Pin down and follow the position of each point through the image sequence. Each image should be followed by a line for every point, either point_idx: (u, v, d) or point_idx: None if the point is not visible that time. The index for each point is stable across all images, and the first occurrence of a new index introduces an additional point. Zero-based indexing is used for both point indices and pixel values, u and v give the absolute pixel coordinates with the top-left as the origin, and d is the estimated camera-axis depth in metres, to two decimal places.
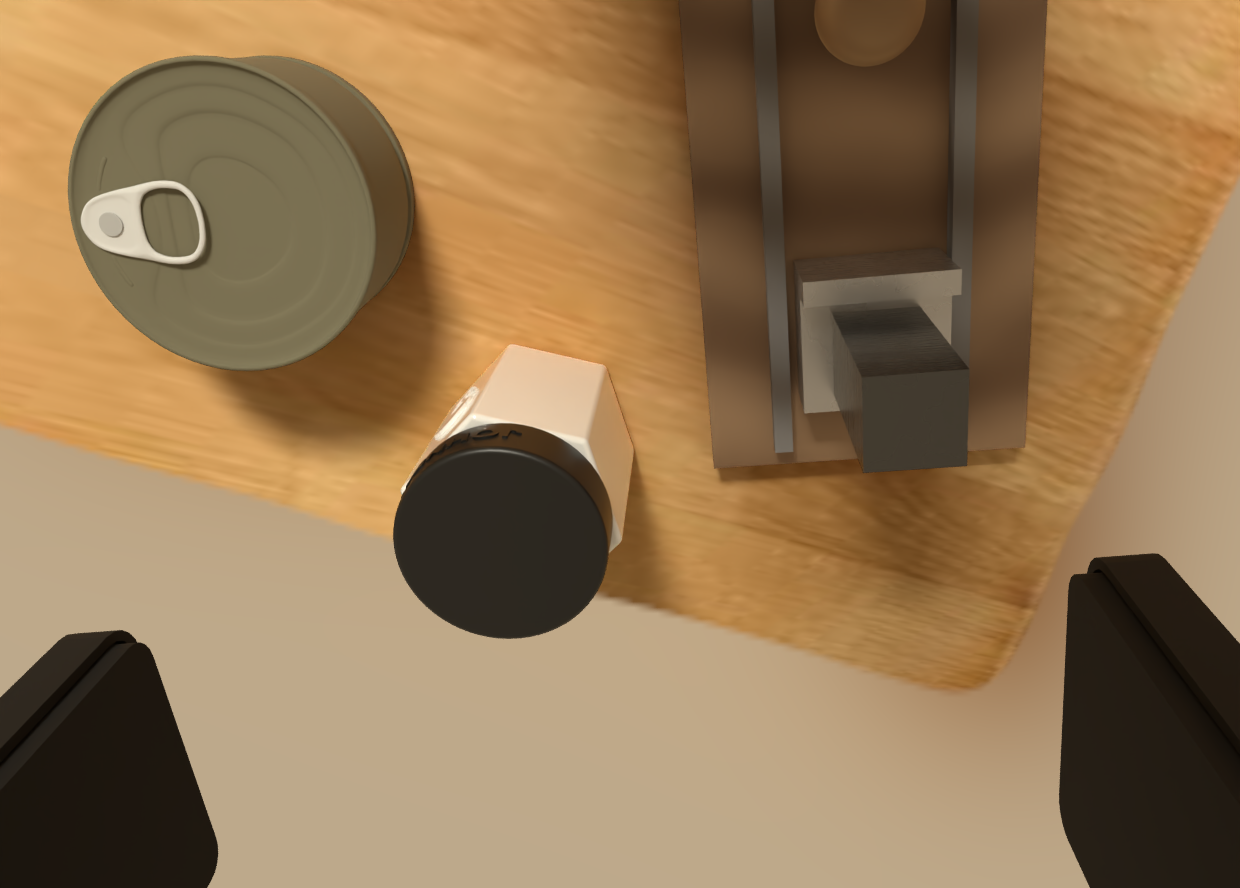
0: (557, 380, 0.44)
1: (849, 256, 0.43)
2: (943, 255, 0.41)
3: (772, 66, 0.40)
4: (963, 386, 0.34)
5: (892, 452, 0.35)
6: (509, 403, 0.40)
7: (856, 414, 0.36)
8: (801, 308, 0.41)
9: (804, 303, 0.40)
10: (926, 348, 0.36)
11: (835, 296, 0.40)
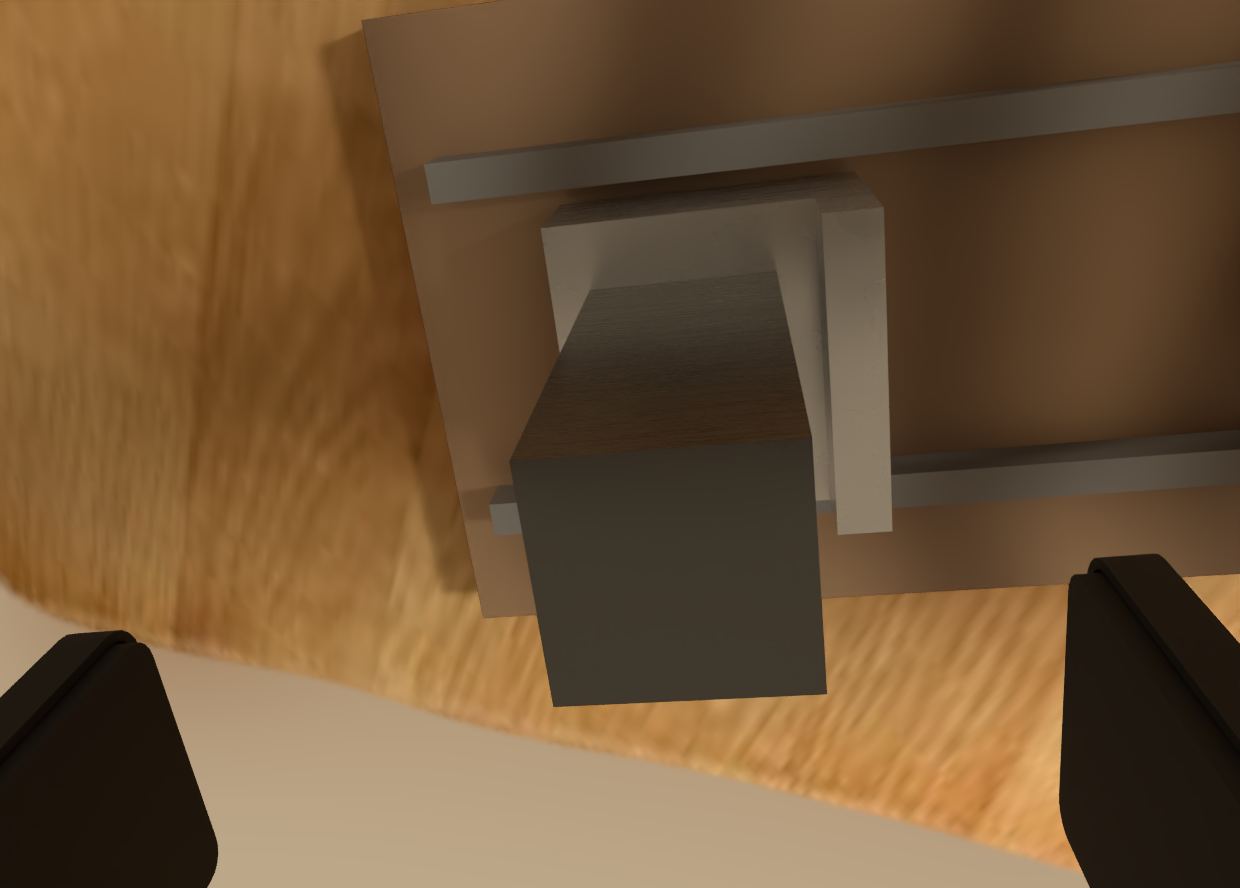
0: None
1: None
2: None
3: None
4: (778, 684, 0.13)
5: (579, 532, 0.12)
6: None
7: (655, 406, 0.13)
8: (789, 203, 0.18)
9: (832, 214, 0.17)
10: None
11: (846, 284, 0.17)
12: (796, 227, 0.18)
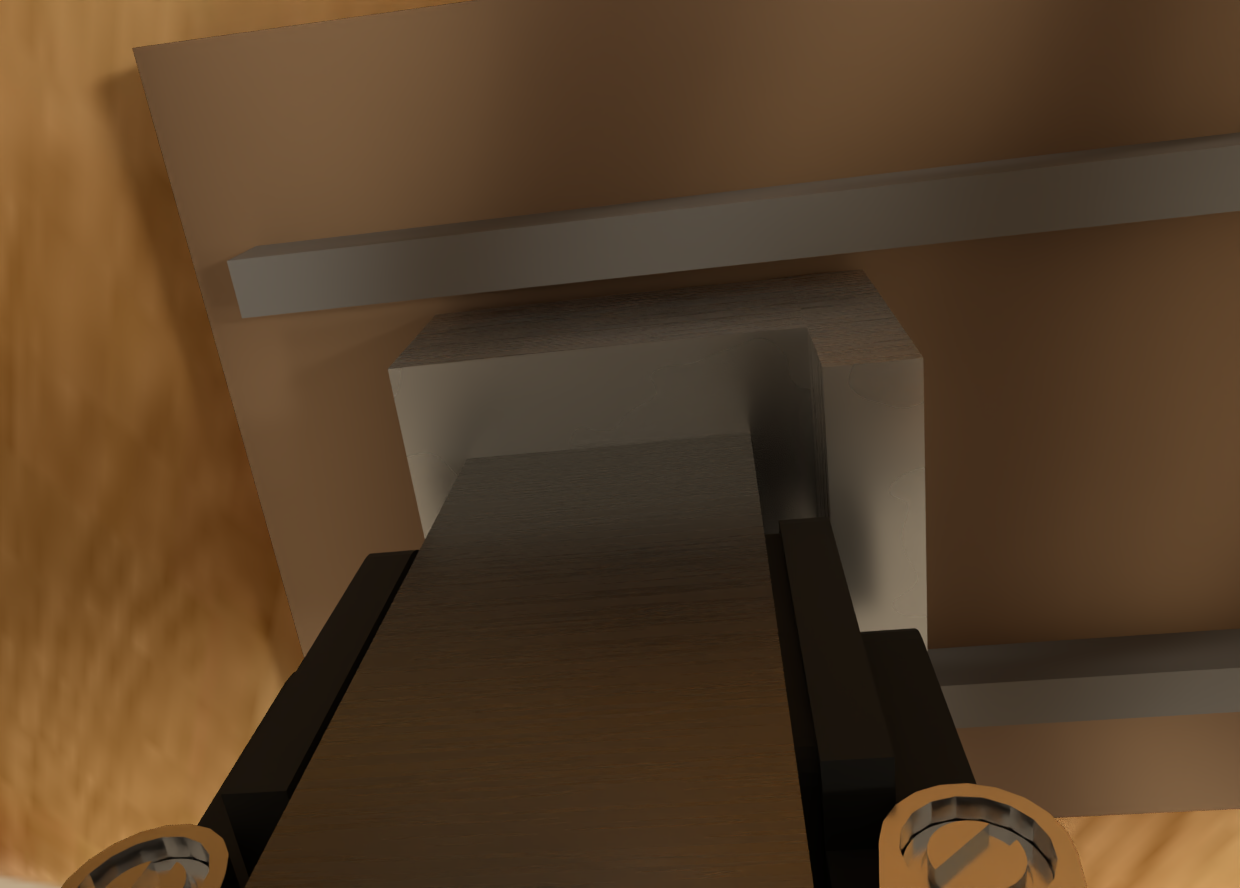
0: None
1: None
2: None
3: None
4: None
5: None
6: None
7: (506, 849, 0.06)
8: (769, 334, 0.12)
9: (839, 368, 0.10)
10: None
11: (861, 475, 0.11)
12: (779, 369, 0.12)
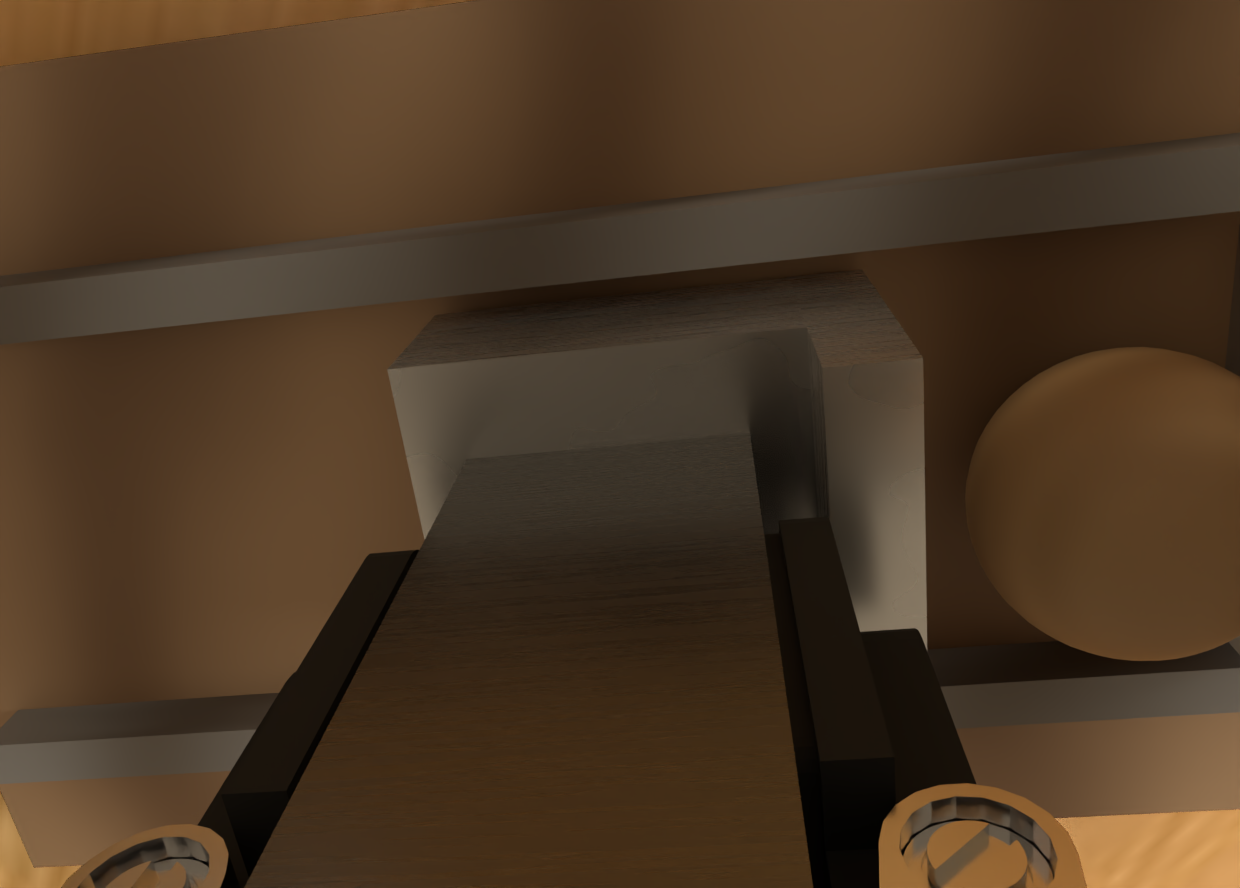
0: None
1: None
2: None
3: (977, 227, 0.13)
4: None
5: None
6: None
7: (505, 850, 0.06)
8: (769, 334, 0.12)
9: (838, 369, 0.10)
10: None
11: (861, 476, 0.11)
12: (779, 369, 0.12)
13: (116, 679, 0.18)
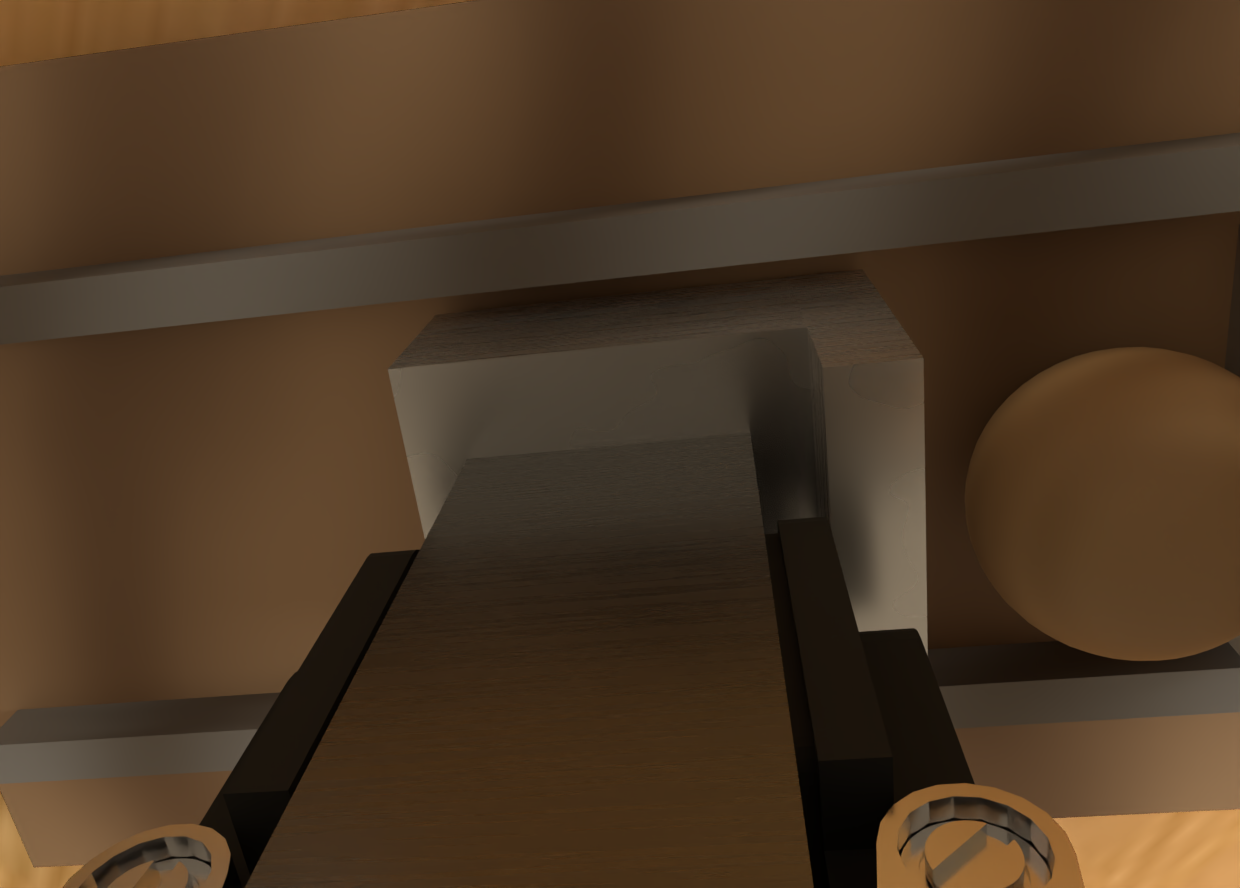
0: None
1: None
2: None
3: (976, 227, 0.13)
4: None
5: None
6: None
7: (506, 850, 0.06)
8: (769, 334, 0.12)
9: (839, 368, 0.10)
10: None
11: (862, 476, 0.11)
12: (780, 369, 0.12)
13: (116, 679, 0.18)
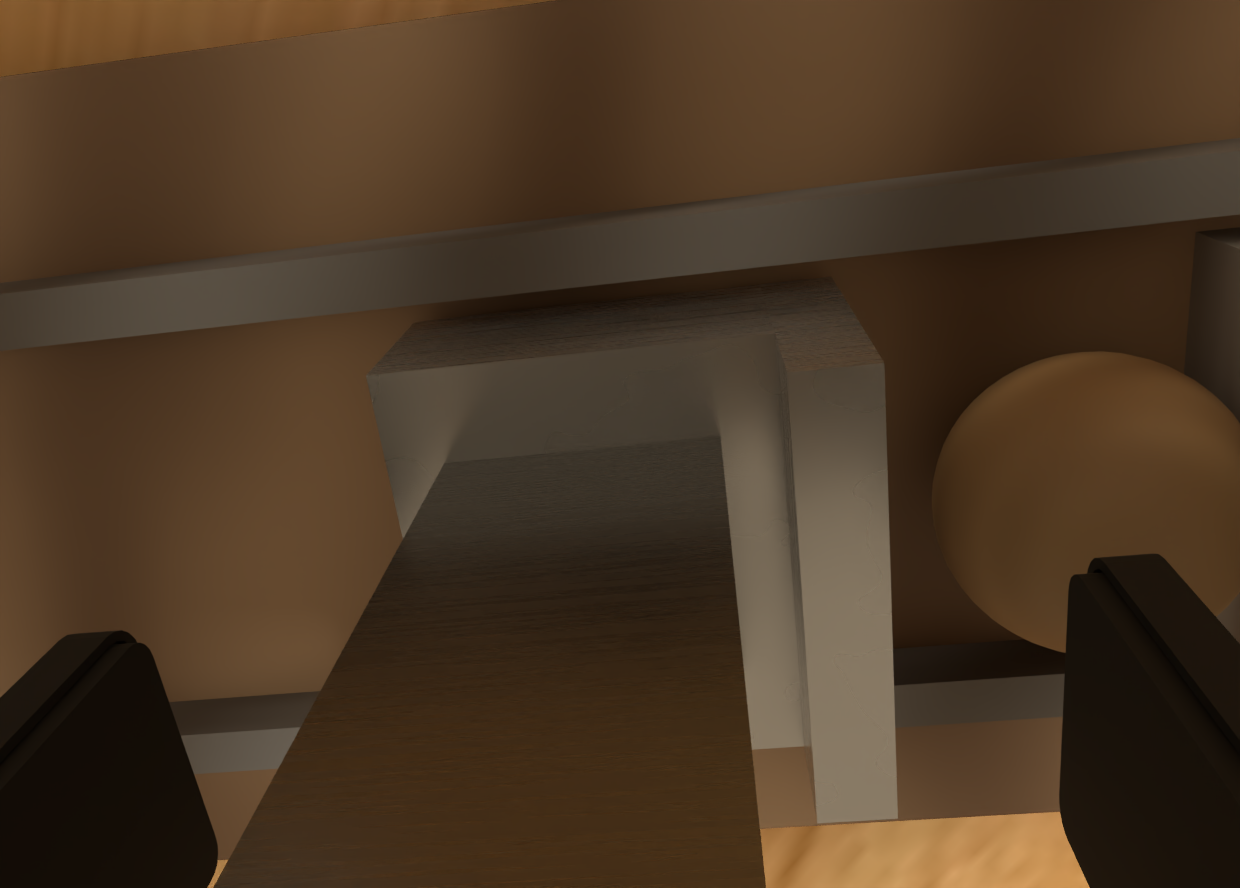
0: None
1: None
2: None
3: (940, 236, 0.13)
4: None
5: None
6: None
7: (472, 835, 0.07)
8: (737, 340, 0.12)
9: (803, 373, 0.11)
10: None
11: (826, 478, 0.11)
12: (748, 374, 0.12)
13: None
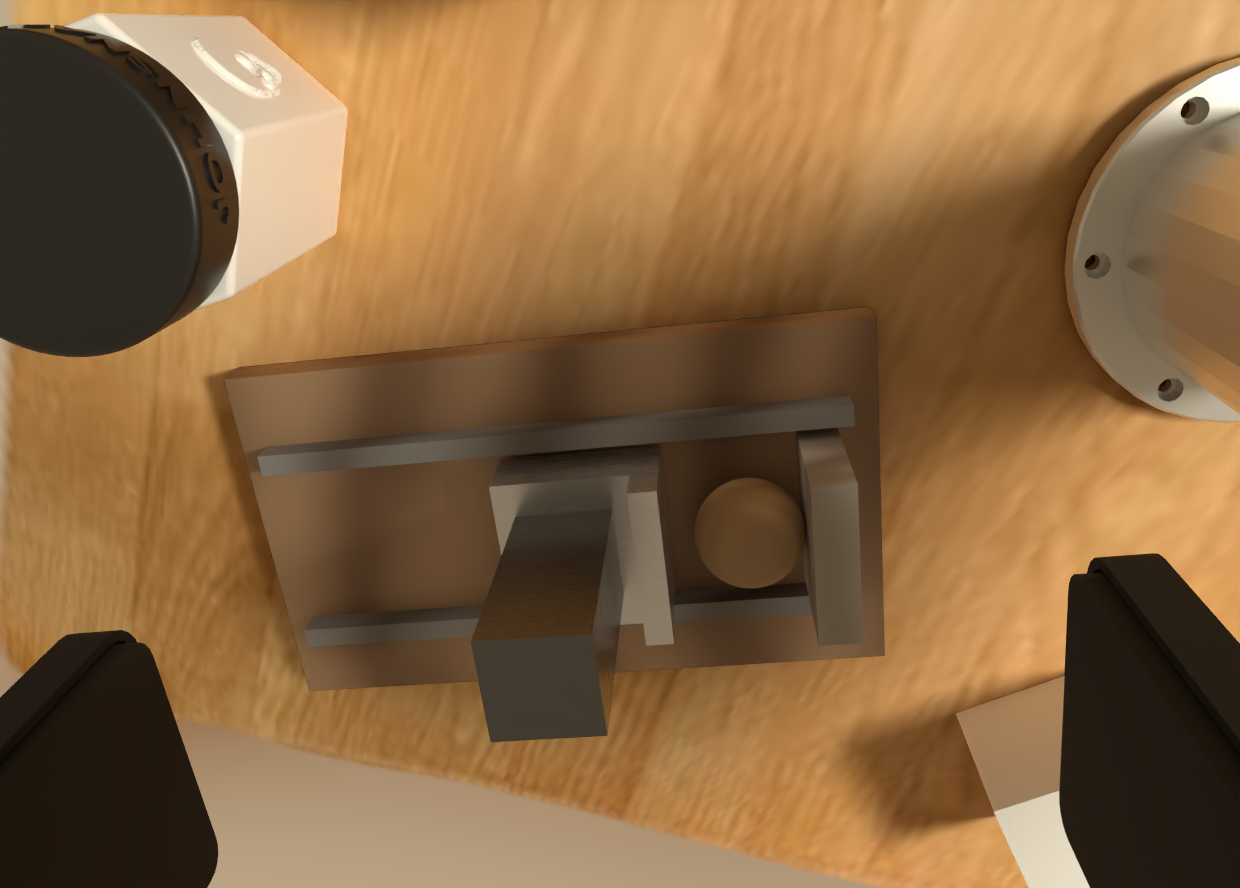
0: (308, 200, 0.33)
1: None
2: (674, 603, 0.39)
3: (694, 435, 0.37)
4: (586, 731, 0.30)
5: (500, 669, 0.29)
6: (266, 171, 0.29)
7: (534, 612, 0.30)
8: (617, 477, 0.36)
9: (631, 493, 0.34)
10: (609, 661, 0.32)
11: (641, 526, 0.35)
12: (621, 488, 0.36)
13: (357, 603, 0.42)
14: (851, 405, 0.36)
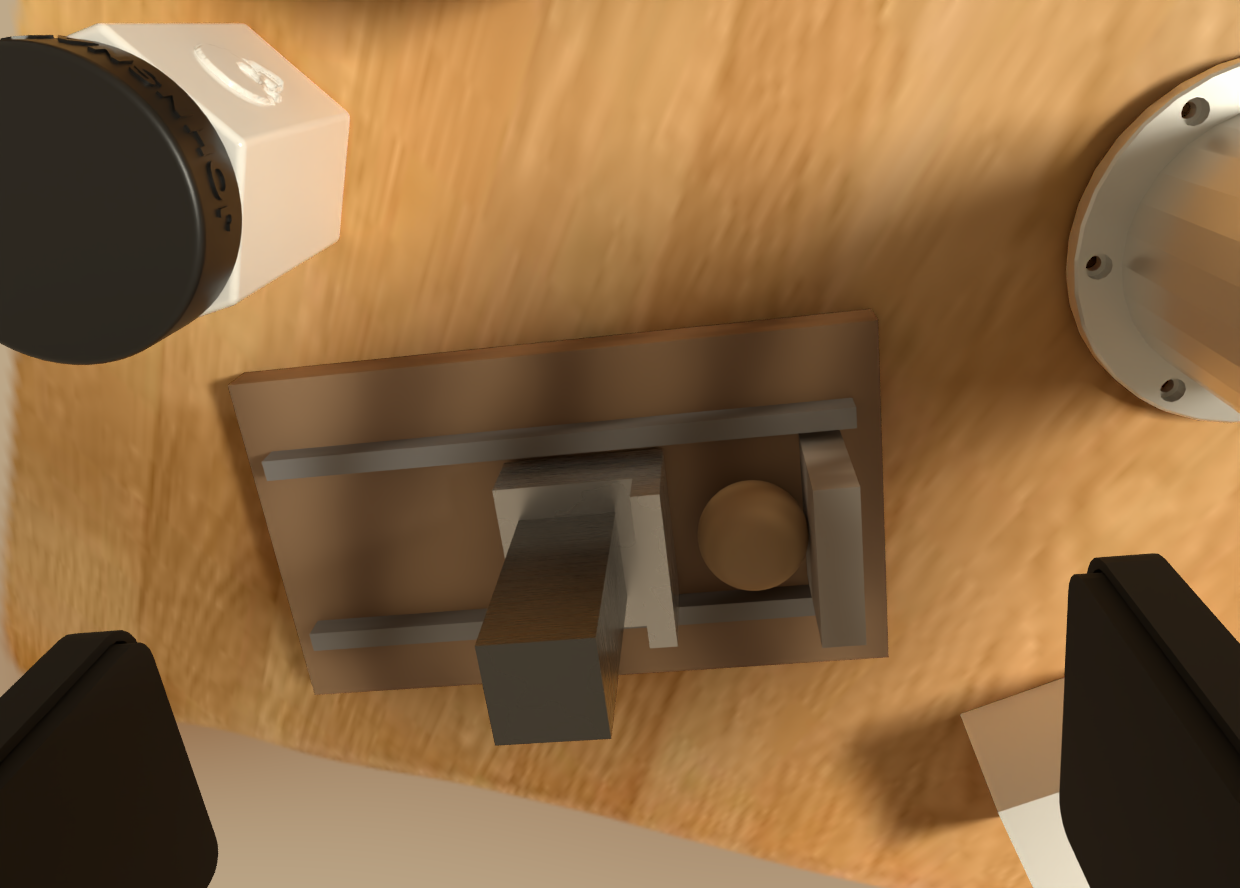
0: (310, 206, 0.33)
1: (669, 507, 0.39)
2: (678, 606, 0.39)
3: (697, 438, 0.37)
4: (590, 734, 0.30)
5: (504, 673, 0.30)
6: (268, 178, 0.29)
7: (537, 615, 0.30)
8: (619, 480, 0.36)
9: (634, 497, 0.34)
10: (613, 664, 0.32)
11: (644, 529, 0.35)
12: (624, 491, 0.36)
13: (362, 606, 0.42)
14: (853, 407, 0.36)
